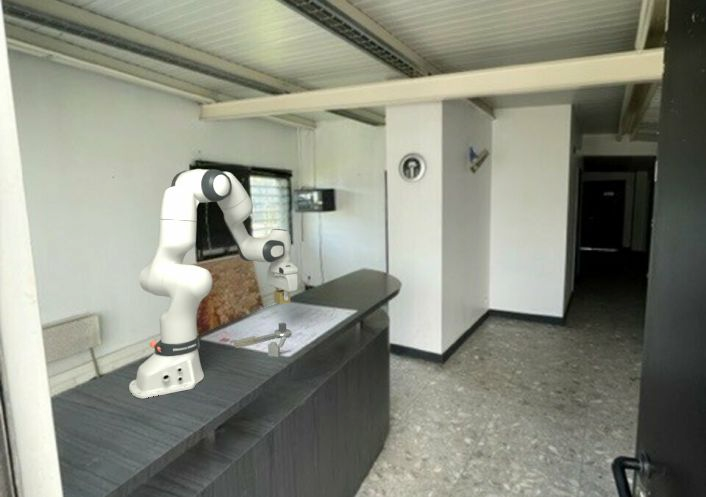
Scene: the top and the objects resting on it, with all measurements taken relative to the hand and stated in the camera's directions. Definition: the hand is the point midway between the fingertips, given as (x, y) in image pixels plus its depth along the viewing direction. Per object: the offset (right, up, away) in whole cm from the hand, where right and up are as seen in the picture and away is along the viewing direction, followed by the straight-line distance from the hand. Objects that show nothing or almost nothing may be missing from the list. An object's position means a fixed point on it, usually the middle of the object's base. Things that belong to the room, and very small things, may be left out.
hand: (281, 298), depth 184 cm
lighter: (+2, -20, -21) cm, 29 cm away
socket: (0, -2, 0) cm, 2 cm away
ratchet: (-7, -17, -4) cm, 19 cm away
